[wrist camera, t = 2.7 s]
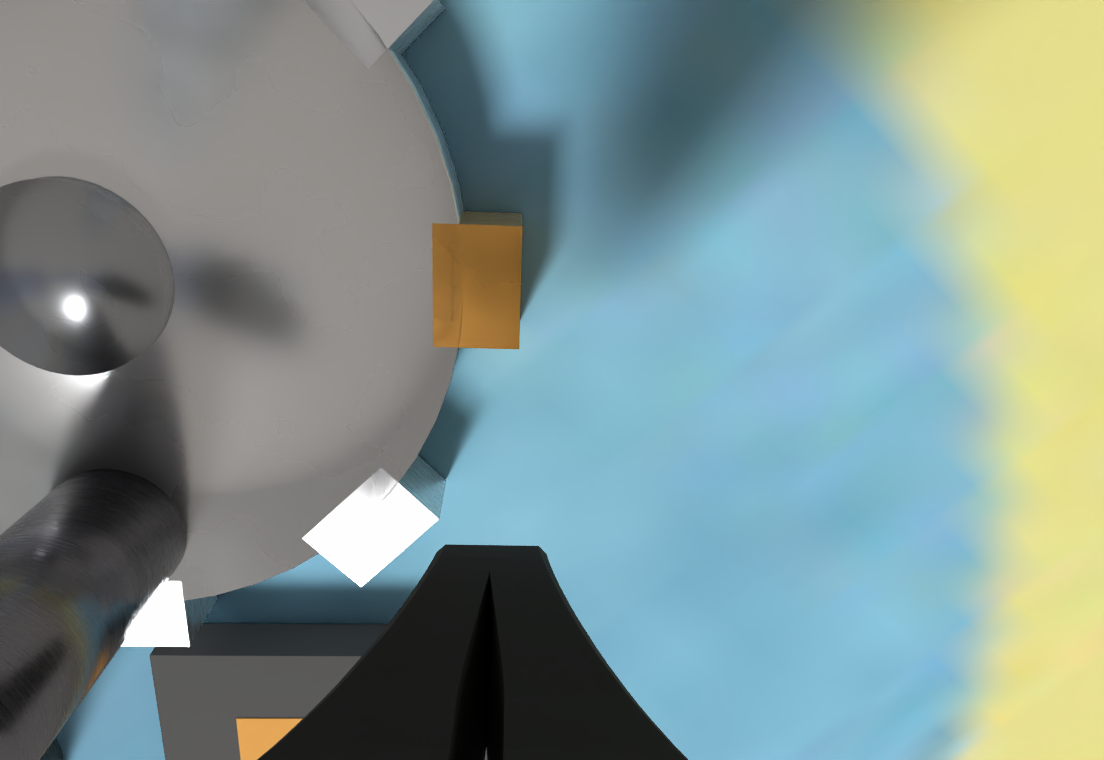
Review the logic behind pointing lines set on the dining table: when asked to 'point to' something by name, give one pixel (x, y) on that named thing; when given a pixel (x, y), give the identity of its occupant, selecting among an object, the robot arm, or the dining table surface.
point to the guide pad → (249, 684)
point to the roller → (53, 752)
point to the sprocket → (216, 316)
